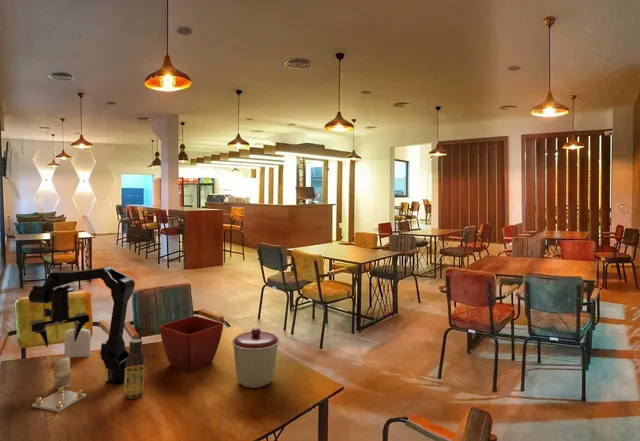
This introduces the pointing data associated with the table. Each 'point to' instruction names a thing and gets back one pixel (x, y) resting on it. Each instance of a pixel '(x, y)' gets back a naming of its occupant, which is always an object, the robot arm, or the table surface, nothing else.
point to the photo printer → (78, 343)
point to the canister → (255, 357)
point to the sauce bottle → (134, 371)
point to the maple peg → (62, 372)
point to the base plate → (59, 400)
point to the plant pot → (191, 341)
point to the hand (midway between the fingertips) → (61, 343)
